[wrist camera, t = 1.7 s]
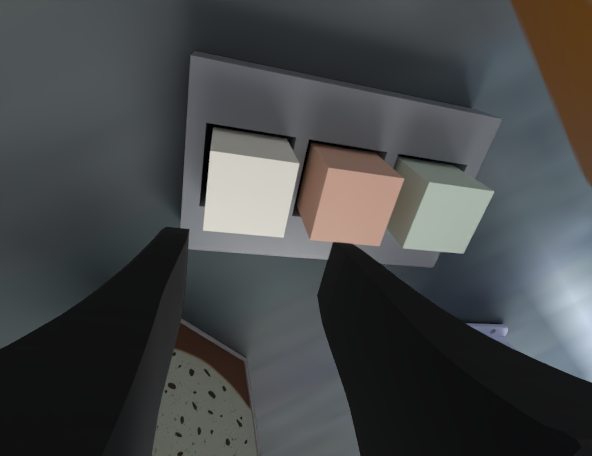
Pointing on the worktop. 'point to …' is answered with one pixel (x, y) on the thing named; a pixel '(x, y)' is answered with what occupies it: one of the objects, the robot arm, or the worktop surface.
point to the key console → (321, 127)
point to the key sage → (436, 206)
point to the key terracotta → (347, 195)
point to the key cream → (249, 183)
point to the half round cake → (206, 401)
